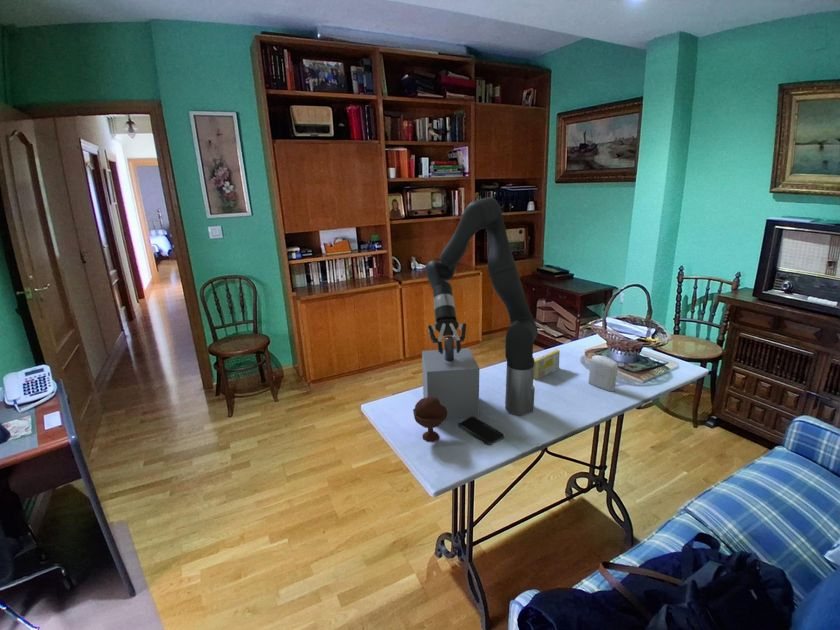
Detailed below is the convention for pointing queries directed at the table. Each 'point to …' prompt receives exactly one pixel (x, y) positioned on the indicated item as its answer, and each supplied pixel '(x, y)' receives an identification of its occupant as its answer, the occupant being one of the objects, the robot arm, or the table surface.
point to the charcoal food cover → (452, 380)
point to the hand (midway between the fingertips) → (450, 352)
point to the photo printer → (603, 372)
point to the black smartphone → (481, 431)
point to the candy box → (546, 364)
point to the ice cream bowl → (430, 416)
